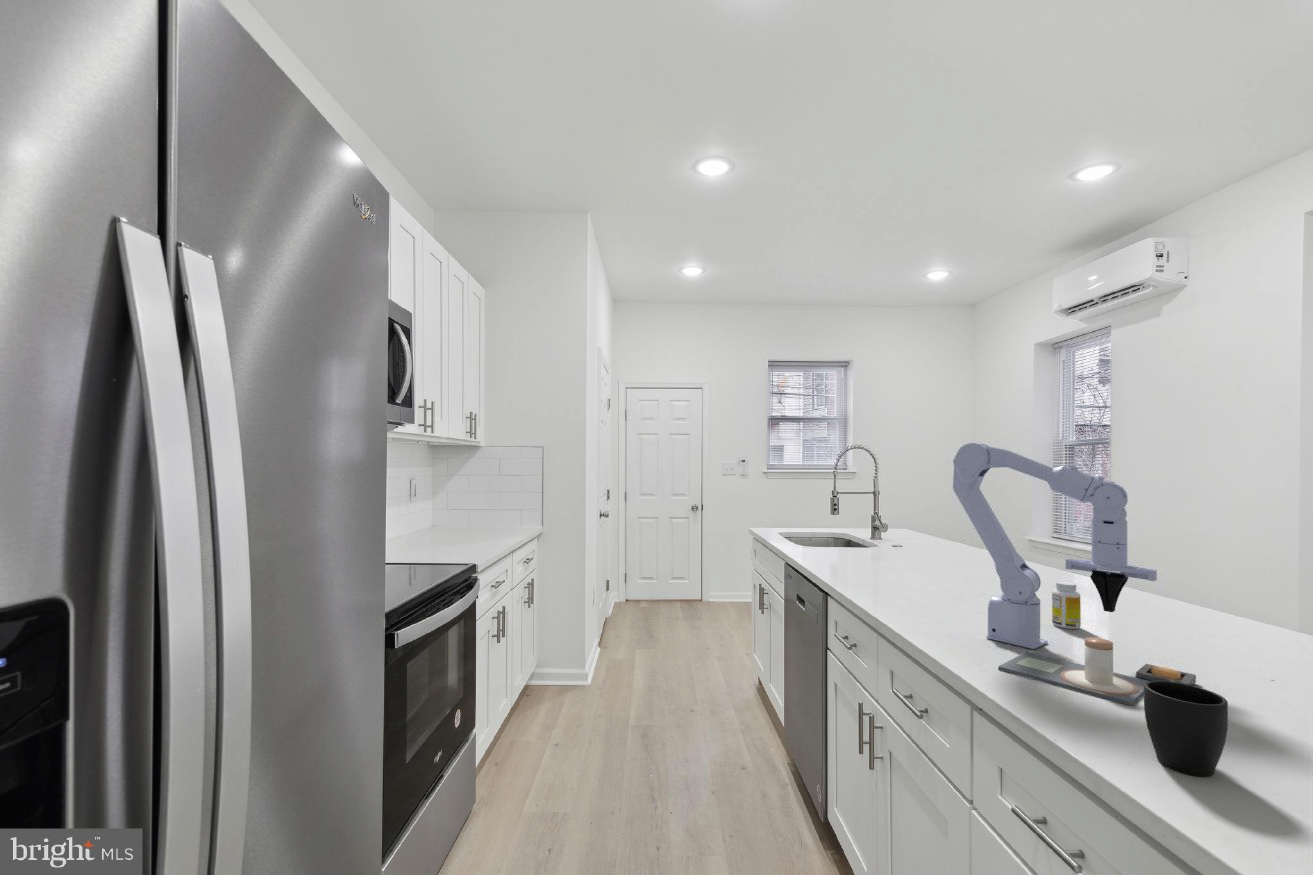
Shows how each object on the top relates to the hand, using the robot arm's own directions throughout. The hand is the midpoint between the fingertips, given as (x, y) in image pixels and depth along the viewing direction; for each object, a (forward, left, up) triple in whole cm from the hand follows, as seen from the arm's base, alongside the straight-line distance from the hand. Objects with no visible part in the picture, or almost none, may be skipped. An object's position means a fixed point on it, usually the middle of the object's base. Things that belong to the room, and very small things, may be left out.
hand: (1109, 610), depth 119 cm
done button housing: (+10, -7, -9) cm, 15 cm away
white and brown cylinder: (+3, -19, -9) cm, 21 cm away
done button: (+10, -7, -9) cm, 15 cm away
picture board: (-1, -18, -9) cm, 20 cm away
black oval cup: (+18, -41, -10) cm, 46 cm away
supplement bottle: (-13, +19, -10) cm, 25 cm away
